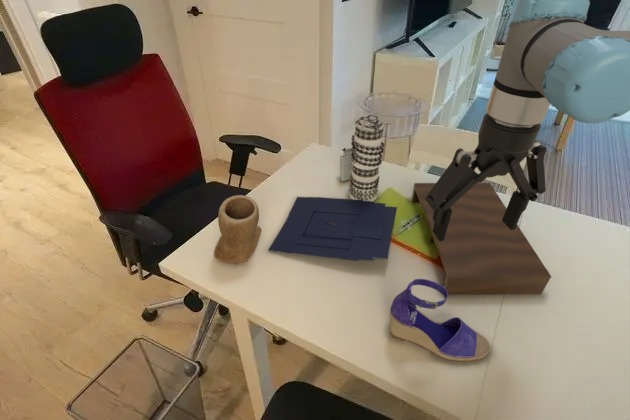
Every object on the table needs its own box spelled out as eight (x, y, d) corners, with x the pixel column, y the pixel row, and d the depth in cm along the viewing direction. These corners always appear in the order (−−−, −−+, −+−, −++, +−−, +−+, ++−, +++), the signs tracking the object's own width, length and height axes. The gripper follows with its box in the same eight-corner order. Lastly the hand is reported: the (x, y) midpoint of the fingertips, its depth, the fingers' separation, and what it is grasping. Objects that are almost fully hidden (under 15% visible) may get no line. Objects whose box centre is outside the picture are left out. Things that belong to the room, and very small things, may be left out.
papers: (386, 272, 88) (386, 261, 85) (269, 258, 96) (267, 248, 94) (397, 210, 106) (398, 200, 104) (298, 203, 115) (297, 193, 112)
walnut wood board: (541, 294, 84) (551, 276, 80) (444, 294, 84) (449, 277, 80) (484, 199, 112) (489, 182, 109) (411, 199, 112) (414, 183, 109)
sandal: (487, 374, 69) (513, 327, 60) (382, 340, 75) (392, 293, 66) (488, 338, 75) (512, 290, 66) (391, 309, 81) (400, 261, 72)
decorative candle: (343, 190, 116) (346, 114, 101) (369, 184, 119) (377, 109, 103) (355, 206, 110) (362, 128, 94) (383, 199, 112) (394, 123, 97)
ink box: (368, 170, 125) (371, 139, 118) (372, 173, 124) (375, 142, 116) (338, 178, 121) (339, 146, 114) (341, 181, 120) (343, 150, 113)
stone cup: (254, 270, 90) (247, 223, 81) (209, 263, 92) (196, 216, 83) (272, 230, 102) (268, 184, 92) (231, 224, 104) (223, 179, 94)
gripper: (570, 99, 57) (522, 208, 70) (419, 114, 53) (398, 226, 66) (609, 120, 52) (550, 234, 65) (443, 138, 48) (416, 256, 61)
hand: (473, 230), depth 66 cm, fingers open, 13 cm apart
